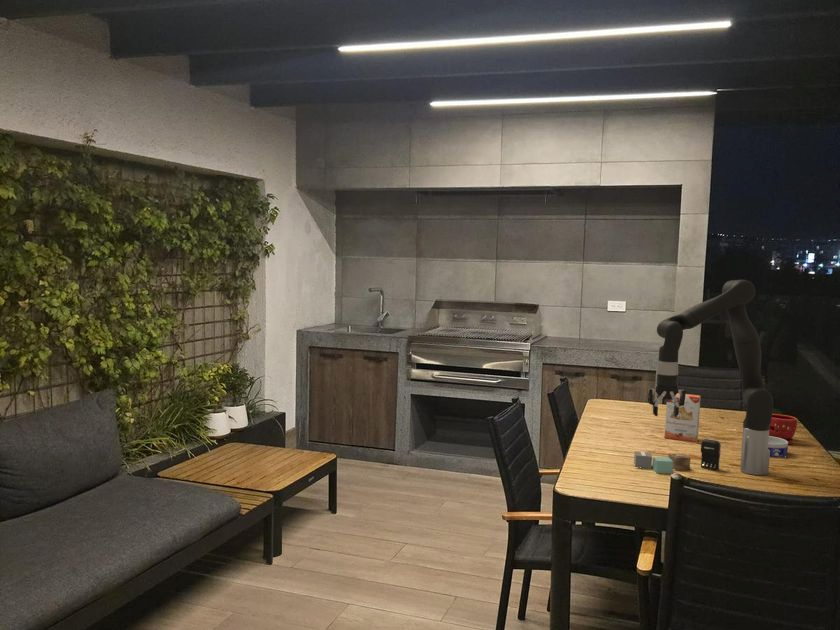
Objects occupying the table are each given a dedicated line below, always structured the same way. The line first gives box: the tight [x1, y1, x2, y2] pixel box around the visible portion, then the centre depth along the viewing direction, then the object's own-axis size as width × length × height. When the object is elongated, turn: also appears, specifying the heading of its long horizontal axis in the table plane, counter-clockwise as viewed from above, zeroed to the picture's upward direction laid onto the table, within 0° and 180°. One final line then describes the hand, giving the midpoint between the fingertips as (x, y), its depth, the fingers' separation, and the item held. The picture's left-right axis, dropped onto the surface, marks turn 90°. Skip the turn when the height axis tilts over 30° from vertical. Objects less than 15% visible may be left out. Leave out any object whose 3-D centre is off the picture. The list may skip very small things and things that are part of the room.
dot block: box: [668, 453, 691, 471], centre depth 277 cm, size 6×6×5 cm
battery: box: [700, 438, 722, 471], centre depth 277 cm, size 7×4×11 cm, turn 49°
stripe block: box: [633, 451, 653, 469], centre depth 278 cm, size 6×6×5 cm
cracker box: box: [664, 392, 702, 443], centre depth 323 cm, size 14×6×21 cm, turn 62°
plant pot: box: [769, 413, 798, 445], centre depth 323 cm, size 13×13×12 cm
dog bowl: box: [768, 436, 789, 458], centre depth 304 cm, size 15×15×6 cm
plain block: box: [651, 456, 674, 475], centre depth 272 cm, size 6×6×5 cm
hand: (665, 416), depth 270 cm, fingers open, 6 cm apart
